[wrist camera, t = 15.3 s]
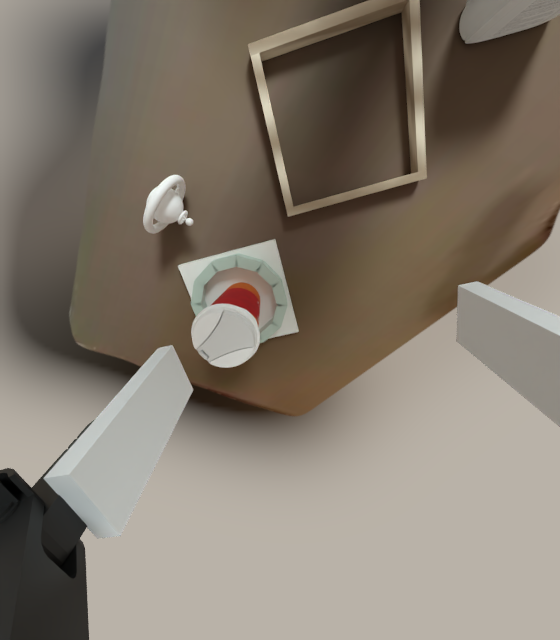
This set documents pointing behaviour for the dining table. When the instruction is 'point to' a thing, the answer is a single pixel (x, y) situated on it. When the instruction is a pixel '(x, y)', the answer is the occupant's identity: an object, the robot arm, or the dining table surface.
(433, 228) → the dining table surface
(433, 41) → the dining table surface
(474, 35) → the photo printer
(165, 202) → the ring around a ball
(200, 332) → the paper cup
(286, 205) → the tray frame
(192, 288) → the cup holder
